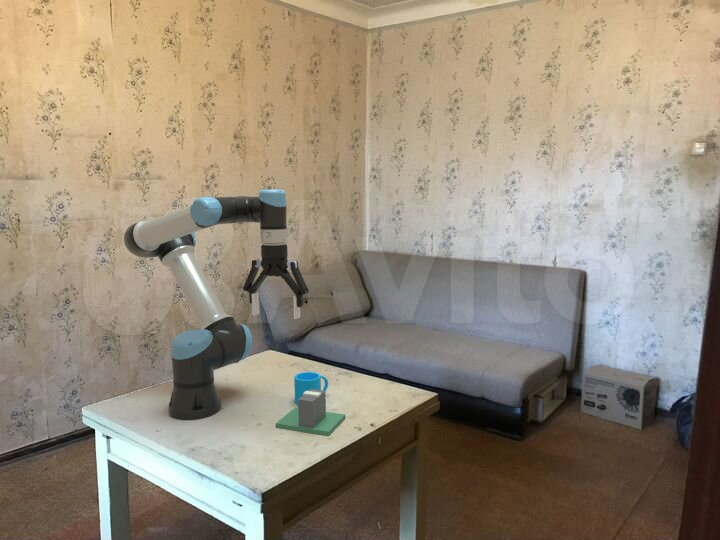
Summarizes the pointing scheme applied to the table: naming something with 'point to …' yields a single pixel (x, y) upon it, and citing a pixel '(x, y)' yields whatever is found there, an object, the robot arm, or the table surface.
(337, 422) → the board
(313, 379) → the mug
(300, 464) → the table surface
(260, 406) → the table surface
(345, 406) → the table surface
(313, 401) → the grey block with band
